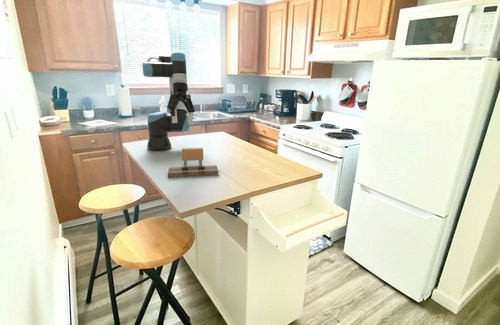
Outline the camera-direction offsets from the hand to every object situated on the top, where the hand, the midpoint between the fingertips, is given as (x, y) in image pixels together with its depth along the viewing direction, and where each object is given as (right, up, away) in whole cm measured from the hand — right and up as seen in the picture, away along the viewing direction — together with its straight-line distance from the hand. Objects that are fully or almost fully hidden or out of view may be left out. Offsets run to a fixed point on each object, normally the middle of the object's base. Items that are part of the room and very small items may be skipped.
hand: (183, 123), depth 142 cm
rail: (+7, -26, -8) cm, 28 cm away
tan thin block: (+5, -23, +2) cm, 23 cm away
